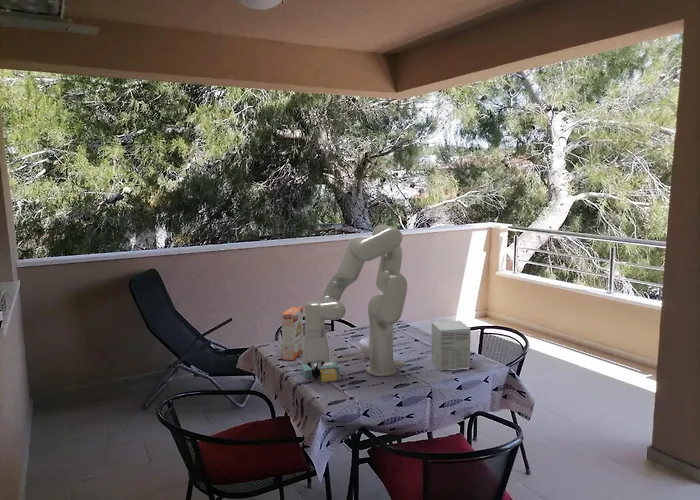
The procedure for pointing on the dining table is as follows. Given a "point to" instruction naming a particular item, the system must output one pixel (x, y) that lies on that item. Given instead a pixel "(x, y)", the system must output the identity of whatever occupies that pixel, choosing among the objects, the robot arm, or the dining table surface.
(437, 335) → the supplement box
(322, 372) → the yellow labeled box
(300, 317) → the cracker box
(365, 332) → the dining table surface
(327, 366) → the teal labeled router
